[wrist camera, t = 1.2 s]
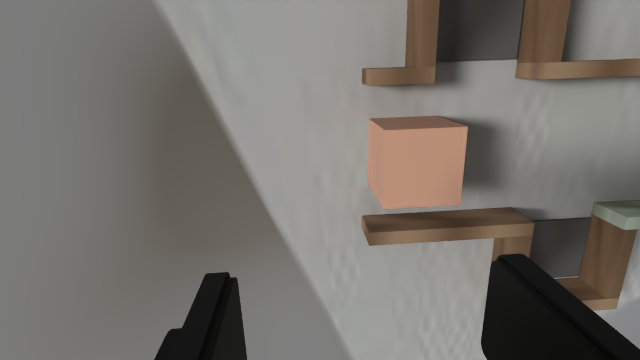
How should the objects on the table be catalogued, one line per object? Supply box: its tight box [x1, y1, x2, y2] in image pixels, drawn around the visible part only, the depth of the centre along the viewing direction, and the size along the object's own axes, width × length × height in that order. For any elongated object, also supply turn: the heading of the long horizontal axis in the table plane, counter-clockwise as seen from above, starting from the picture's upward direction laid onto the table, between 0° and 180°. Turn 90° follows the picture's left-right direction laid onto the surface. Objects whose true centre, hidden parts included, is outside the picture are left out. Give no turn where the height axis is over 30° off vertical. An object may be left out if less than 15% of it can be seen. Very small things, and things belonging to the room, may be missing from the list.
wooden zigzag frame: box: [362, 0, 640, 311], centre depth 26 cm, size 26×26×3 cm
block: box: [368, 116, 468, 209], centre depth 24 cm, size 5×5×5 cm
